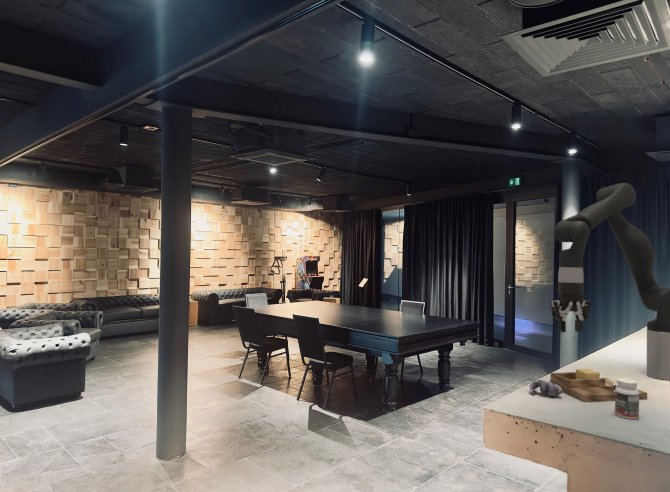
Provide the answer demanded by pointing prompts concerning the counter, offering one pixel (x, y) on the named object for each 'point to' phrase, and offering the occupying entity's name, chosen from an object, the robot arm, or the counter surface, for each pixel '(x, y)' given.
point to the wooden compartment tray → (597, 392)
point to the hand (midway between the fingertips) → (570, 331)
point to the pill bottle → (627, 399)
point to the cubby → (576, 380)
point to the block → (587, 374)
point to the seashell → (546, 388)
